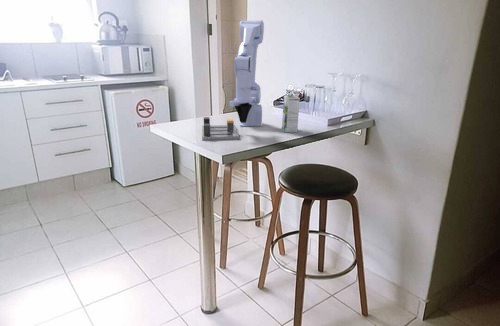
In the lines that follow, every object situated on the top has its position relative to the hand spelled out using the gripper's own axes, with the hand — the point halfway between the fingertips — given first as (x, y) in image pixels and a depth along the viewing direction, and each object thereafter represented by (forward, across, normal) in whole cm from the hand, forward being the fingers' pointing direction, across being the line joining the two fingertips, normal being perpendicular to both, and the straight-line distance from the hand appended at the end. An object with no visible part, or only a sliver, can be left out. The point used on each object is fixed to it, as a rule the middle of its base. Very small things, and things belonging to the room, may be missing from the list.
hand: (243, 122), depth 145 cm
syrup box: (+5, -16, +12) cm, 21 cm away
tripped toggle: (+3, +4, -4) cm, 6 cm away
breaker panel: (+5, +7, -7) cm, 11 cm away
